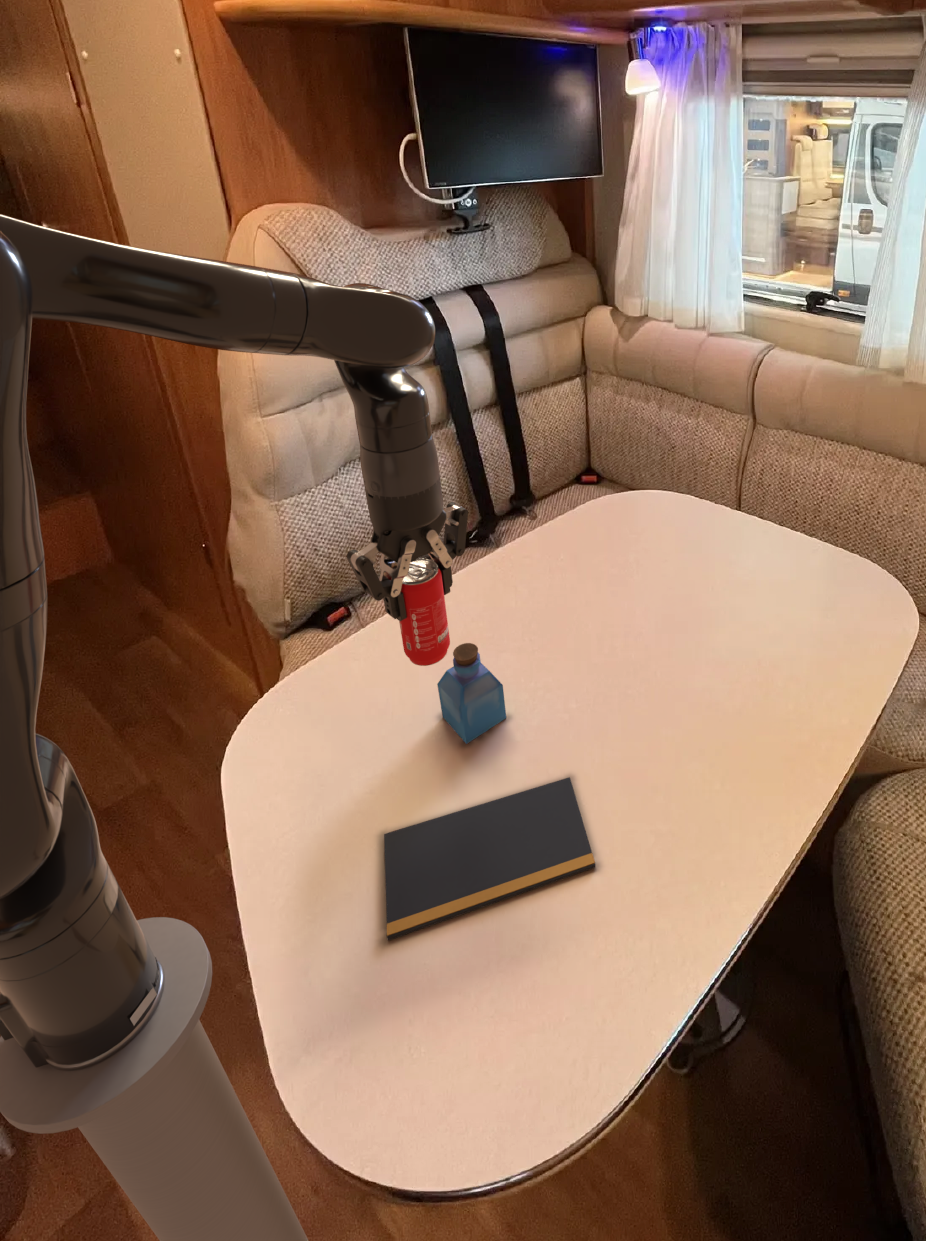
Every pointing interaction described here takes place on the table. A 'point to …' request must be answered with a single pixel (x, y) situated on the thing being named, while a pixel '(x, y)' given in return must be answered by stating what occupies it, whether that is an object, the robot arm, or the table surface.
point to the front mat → (483, 856)
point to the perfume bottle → (470, 695)
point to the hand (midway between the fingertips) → (420, 603)
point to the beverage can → (424, 614)
